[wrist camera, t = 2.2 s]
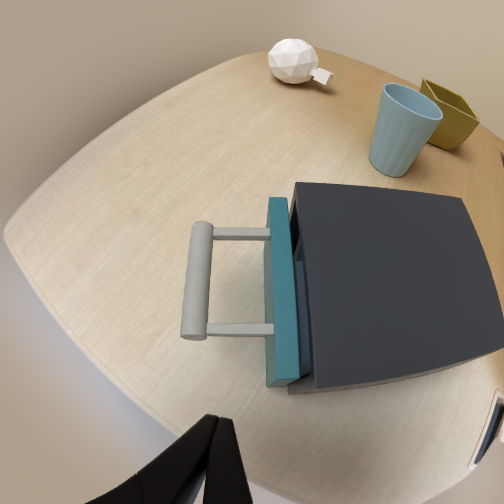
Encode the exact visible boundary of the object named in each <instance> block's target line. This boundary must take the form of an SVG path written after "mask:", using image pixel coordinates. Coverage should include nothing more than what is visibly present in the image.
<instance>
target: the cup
mask: <svg viewBox="0 0 504 504" xmlns="http://www.w3.org/2000/svg"><path fill="white" fill-rule="evenodd" d="M442 118H443V113H442V111H441V110H440V108H439V107H438V106H437V105H436V104H435V103H434V102H433V101H432V100H430V99H429V98H428V97H426V96H425V95H423V94H421V93H420V92H418V91H416V90H414V89H412V88H409V87H407V86H404V85H400V84H395V83H388V84H385V85H384V86H383V90H382V95H381V101H380V107H379V112H378V117H377V122H376V127H375V131H374V136H373V140H372V144H371V149H370V153H369V159H370V162H371V163H372V165H373V166H374V167H375V168H376V169H377V170H379V171H380V172H382V173H383V174H385V175H388V176H391V177H401V176H403V175H404V174H405V173H406V171H407V170H408V169H409V167H410V166H411V164H412V163H413V162H414V160H415V159H416V157H417V156H418V154H419V153H420V151H421V150H422V148H423V147H424V146H425V144H426V143H427V141H428V140H429V138H430V137H431V135H432V133H433V132H434V130H435V129H436V128H437V126H438V124H439V123H440V121H441V120H442Z"/></svg>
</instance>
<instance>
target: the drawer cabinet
mask: <svg viewBox="0 0 504 504" xmlns="http://www.w3.org/2000/svg"><path fill="white" fill-rule="evenodd" d="M289 223H290V233H291V244H292V255H293V257H294V254H295V250H296V247H297V243H298V240H299V236H300V242H301V251H302V261H303V271H304V282H305V293H306V305H307V318H308V332H309V348H310V366H311V374H310V375H308V376H301V373H300V378H299V379H297V380H295V381H293V382H291V383H289V384H288V394H305V393H318V392H328V391H338V390H346V389H354V388H361V387H367V386H374V385H380V384H385V383H391V382H396V381H401V380H406V379H410V378H415V377H419V376H423V375H428V374H432V373H435V372H439V371H443V370H446V369H449V368H452V367H455V366H458V365H461V364H464V363H467V362H469V361H472V360H475V359H477V358H480V357H483V356H485V355H488V354H490V353H493V352H495V351H497V350H500V349H502V348H504V318H503V313H502V309H501V305H500V301H499V297H498V293H497V290H496V286H495V283H494V280H493V276H492V273H491V270H490V267H489V264H488V261H487V258H486V256H485V253H484V250H483V247H482V245H481V242H480V240H479V237H478V235H477V232H476V230H475V228H474V225H473V223H472V221H471V218H470V216H469V214H468V212H467V210H466V207H465V205H464V203H463V201H462V199H461V198H457V197H451V196H444V195H438V194H430V193H423V192H415V191H407V190H398V189H389V188H379V187H368V186H356V185H342V184H327V183H308V182H296V183H295V188H294V193H293V198H292V203H291V208H290V213H289ZM293 268H294V261H293ZM294 280H295V273H294ZM295 294H296V286H295ZM296 309H297V300H296ZM297 325H298V315H297ZM298 343H299V332H298ZM299 364H300V350H299Z"/></svg>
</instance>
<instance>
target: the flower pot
mask: <svg viewBox="0 0 504 504" xmlns="http://www.w3.org/2000/svg"><path fill="white" fill-rule="evenodd" d="M420 93H421V94H423V95H425V96H426V97H428V98H429V99H430V100H432V101H433V102H434V103H435V104H436V105H437V106H438V107H439V108H440V110H441V111H442V113H443V118H442V120H441V121H440V123H439V124H438V126H437V128H436V129H435V130H434V132H433V133H432V135H431V137H430V138H429V140H428V141H427V142H429V143H431V144H434V145H436V146H438V147H441V148H443V149H445V150H449V149H452V148H455V147H457V146H459V145H460V144H462V143H463V142H464V141H465V140H466V139H467V138H468V137H469V136H470V134H471V133H472V132H473V130H474V129H475V128H476V127H477V125H478V124H479V123H480V120H479V119H478V117H477V116H476V114H475V113H474V112H473V110H472V109H471V107H470V106H469V105H468V103H467V102H466V100H465V99H464V98H463V97H461V96H460V95H458V94H456V93H454V92H452V91H451V90H448V89H446V88H444V87H442V86H440V85H438V84H436V83H434V82H431V81H429V80H427V79H424V78H423V80H422V85H421V89H420Z"/></svg>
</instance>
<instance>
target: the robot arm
mask: <svg viewBox="0 0 504 504" xmlns="http://www.w3.org/2000/svg"><path fill="white" fill-rule="evenodd" d="M137 474H138V475H137ZM137 474H134V476H132V477H130V478H129V479H128V480H126V481H125V482H124V483H122V484H121V485H119V486H118V487H117V488H114V489H113V490H111V491H109V492H107V493H106V494H104V495H102V496H100V497H98V498H96V499H93V500H91V501H89V502H87V503H85V504H193V503H194V501H195V499H196V497H197V494H198V492H199V490H200V488H201V485H202V483H203V480H204V479H205V476H206V479H205V488H204V496H203V504H253V501H252V497H251V493H250V489H249V486H248V482H247V478H246V474H245V470H244V466H243V462H242V458H241V454H240V450H239V446H238V442H237V438H236V433H235V429H234V424H233V421H232V419H229V418H224V417H220V418H219V417H218V416H215V415H211V414H206V415H204V416H203V417H202V418H201V419H200V420H199V421H198V422H197V423H196V424H195V425H193V426H192V427H191V428H190V429H189V430H188V431H187V432H186V433H184V434H183V435H182V436H181V437H180V438H179V439H177V440H176V441H175V442H174V443H173V444H172V445H170V446H169V447H168V448H167V449H166V450H165V451H163V452H162V453H161V454H160V455H158V457H156V458H155V459H154V460H153V461H151V462H150V463H149V464H147V465H146V466H145V467H144V468H142V469H141V470H140V471H138V472H137Z"/></svg>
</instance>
